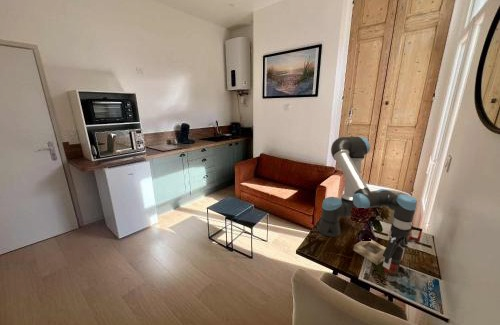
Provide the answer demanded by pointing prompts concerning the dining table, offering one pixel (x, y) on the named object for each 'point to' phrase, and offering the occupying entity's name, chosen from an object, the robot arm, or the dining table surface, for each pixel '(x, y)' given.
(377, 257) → the socket block
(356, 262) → the dining table surface
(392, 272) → the deodorant
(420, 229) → the mug
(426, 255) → the dining table surface
